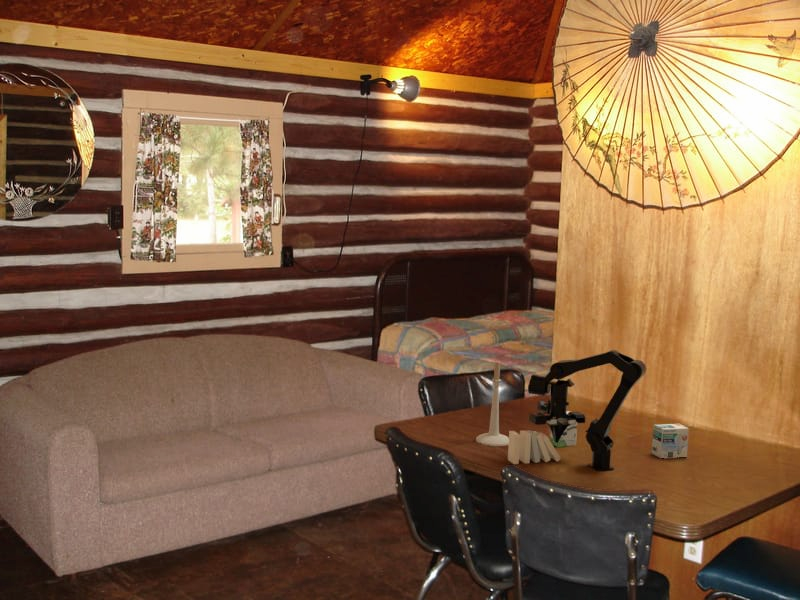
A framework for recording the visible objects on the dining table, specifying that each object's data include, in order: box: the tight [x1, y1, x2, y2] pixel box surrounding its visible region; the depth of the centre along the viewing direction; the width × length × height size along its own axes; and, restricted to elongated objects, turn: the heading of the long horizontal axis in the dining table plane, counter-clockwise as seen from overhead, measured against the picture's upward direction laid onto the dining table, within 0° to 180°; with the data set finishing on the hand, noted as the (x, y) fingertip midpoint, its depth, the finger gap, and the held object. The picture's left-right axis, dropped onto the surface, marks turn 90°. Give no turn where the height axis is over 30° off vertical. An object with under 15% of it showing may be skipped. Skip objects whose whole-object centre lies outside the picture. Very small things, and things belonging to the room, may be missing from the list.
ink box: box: [549, 410, 578, 448], centre depth 326 cm, size 9×5×12 cm, turn 117°
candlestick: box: [475, 360, 509, 447], centre depth 326 cm, size 13×13×30 cm
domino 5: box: [538, 432, 562, 463], centre depth 306 cm, size 5×2×10 cm
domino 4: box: [532, 430, 552, 463], centre depth 306 cm, size 5×2×10 cm, turn 16°
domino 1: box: [507, 430, 520, 465], centre depth 303 cm, size 5×2×10 cm, turn 16°
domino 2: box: [519, 430, 531, 464], centre depth 304 cm, size 5×2×10 cm, turn 16°
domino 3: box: [526, 429, 541, 464], centre depth 305 cm, size 5×2×10 cm, turn 16°
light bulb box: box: [651, 423, 690, 459], centre depth 317 cm, size 11×7×11 cm, turn 105°
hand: (556, 442), depth 307 cm, fingers closed
